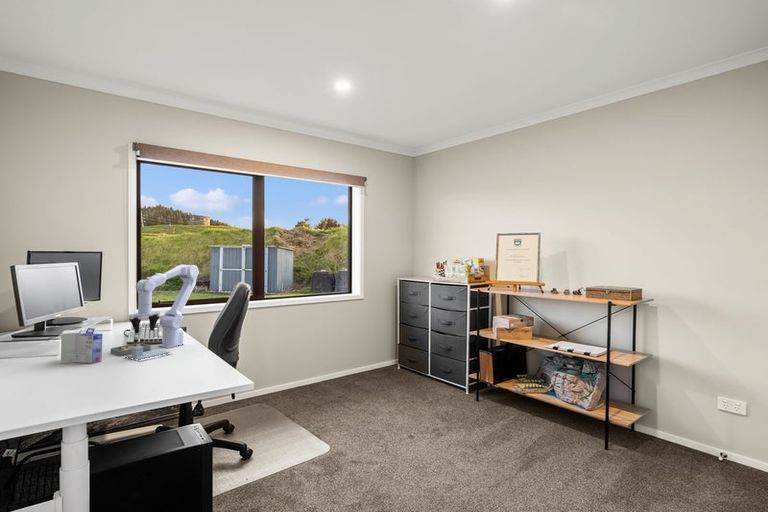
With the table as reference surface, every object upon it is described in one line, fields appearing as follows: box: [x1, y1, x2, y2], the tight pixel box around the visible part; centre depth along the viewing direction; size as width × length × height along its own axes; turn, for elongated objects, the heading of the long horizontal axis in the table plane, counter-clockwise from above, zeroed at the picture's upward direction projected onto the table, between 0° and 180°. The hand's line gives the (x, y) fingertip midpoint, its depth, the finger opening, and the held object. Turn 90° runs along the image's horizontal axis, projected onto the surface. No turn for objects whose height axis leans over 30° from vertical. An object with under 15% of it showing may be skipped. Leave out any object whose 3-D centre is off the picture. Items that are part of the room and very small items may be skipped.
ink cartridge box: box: [73, 327, 103, 364], centre depth 180 cm, size 10×6×14 cm, turn 82°
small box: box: [60, 329, 82, 364], centre depth 181 cm, size 8×6×13 cm
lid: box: [126, 346, 171, 360], centre depth 192 cm, size 15×10×5 cm, turn 153°
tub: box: [110, 342, 152, 357], centre depth 199 cm, size 14×9×2 cm, turn 153°
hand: (144, 331), depth 200 cm, fingers open, 7 cm apart
